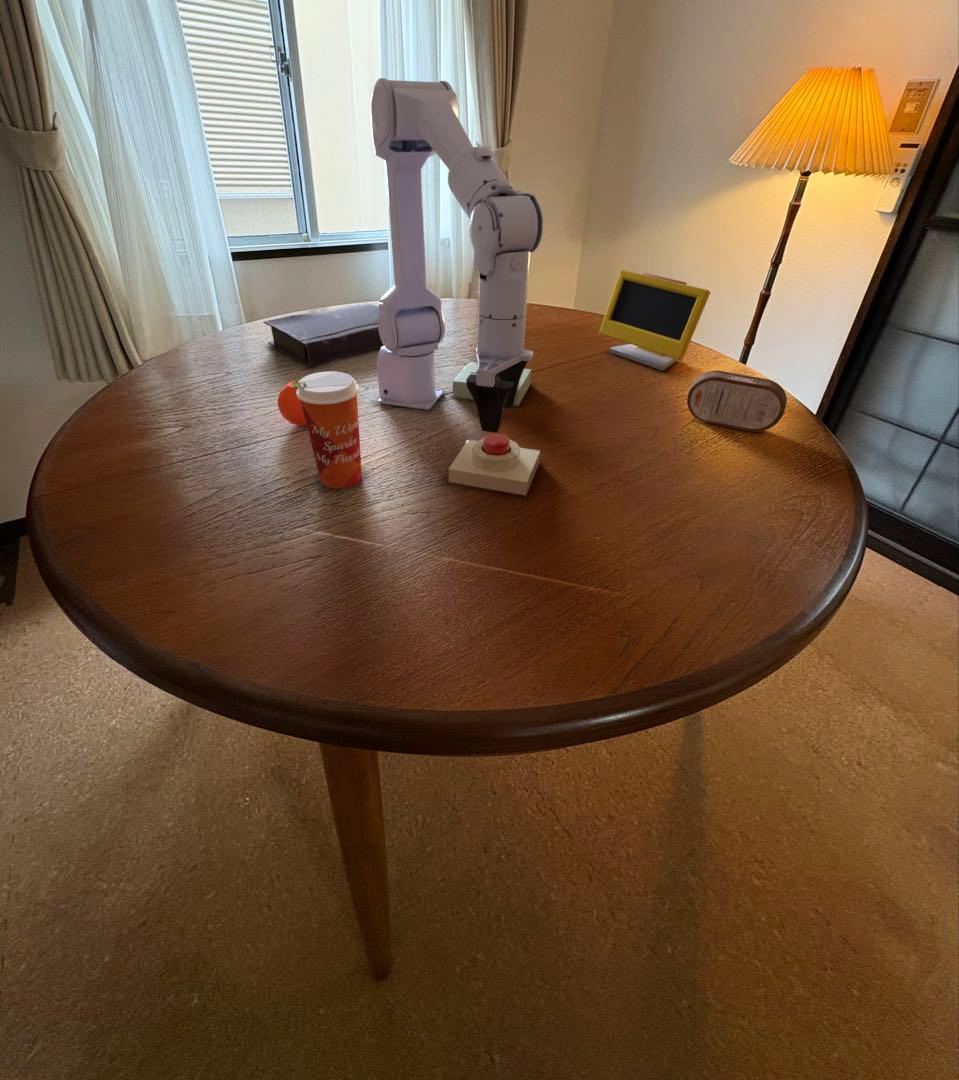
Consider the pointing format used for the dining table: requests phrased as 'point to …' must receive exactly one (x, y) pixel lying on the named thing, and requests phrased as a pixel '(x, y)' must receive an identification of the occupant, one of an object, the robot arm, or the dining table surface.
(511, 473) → the button block
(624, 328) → the toy computer monitor
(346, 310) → the diary
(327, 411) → the paper cup
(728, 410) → the tin
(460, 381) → the dial panel
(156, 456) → the dining table surface
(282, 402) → the clementine
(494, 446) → the red button
